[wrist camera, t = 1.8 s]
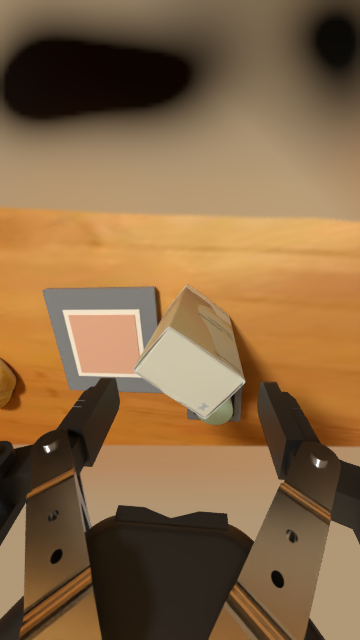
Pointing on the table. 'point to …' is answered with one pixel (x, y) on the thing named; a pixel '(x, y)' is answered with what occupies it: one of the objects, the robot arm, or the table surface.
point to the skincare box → (193, 354)
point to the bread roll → (6, 383)
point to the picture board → (103, 333)
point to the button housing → (236, 405)
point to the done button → (220, 414)
